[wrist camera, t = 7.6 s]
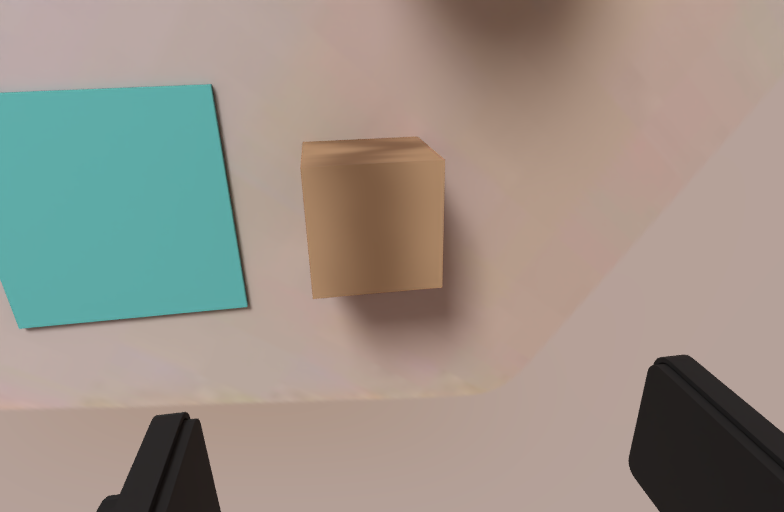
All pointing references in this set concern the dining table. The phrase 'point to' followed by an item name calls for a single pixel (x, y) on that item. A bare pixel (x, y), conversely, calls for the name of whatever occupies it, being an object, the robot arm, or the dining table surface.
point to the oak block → (373, 215)
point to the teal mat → (115, 205)
